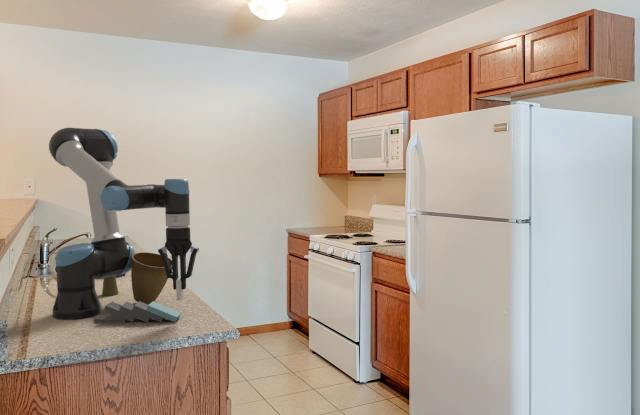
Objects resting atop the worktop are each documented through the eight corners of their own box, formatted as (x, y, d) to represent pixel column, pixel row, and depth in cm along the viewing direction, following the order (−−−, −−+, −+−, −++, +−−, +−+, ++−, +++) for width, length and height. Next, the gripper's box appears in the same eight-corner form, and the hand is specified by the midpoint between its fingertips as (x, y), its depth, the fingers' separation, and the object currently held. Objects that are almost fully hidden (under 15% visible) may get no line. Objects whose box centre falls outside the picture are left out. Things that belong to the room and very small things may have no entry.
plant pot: (173, 304, 197) (182, 264, 194) (141, 311, 184) (151, 269, 181) (146, 288, 204) (155, 250, 201) (114, 294, 191) (123, 253, 188)
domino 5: (175, 322, 168) (145, 310, 168) (179, 317, 173) (150, 306, 173) (177, 317, 168) (148, 305, 168) (181, 312, 173) (152, 301, 173)
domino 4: (160, 322, 168) (131, 310, 168) (165, 317, 173) (137, 306, 173) (162, 317, 168) (134, 305, 168) (167, 313, 173) (139, 301, 173)
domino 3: (147, 322, 168) (118, 310, 168) (153, 318, 173) (125, 306, 173) (149, 317, 168) (120, 305, 168) (155, 313, 173) (127, 301, 173)
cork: (112, 296, 204) (111, 268, 204) (98, 295, 206) (97, 268, 205) (121, 292, 210) (120, 265, 209) (108, 292, 211) (106, 265, 211)
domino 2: (132, 322, 168) (103, 310, 168) (138, 318, 173) (110, 306, 173) (134, 317, 168) (105, 305, 168) (140, 313, 173) (112, 301, 173)
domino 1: (124, 324, 168) (93, 324, 169) (130, 320, 173) (100, 320, 174) (124, 319, 168) (93, 319, 168) (130, 315, 173) (100, 315, 173)
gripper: (153, 228, 165) (156, 302, 167) (195, 227, 165) (197, 301, 167) (161, 225, 172) (163, 296, 174) (200, 225, 172) (202, 296, 174)
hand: (180, 299), depth 170 cm, fingers closed
